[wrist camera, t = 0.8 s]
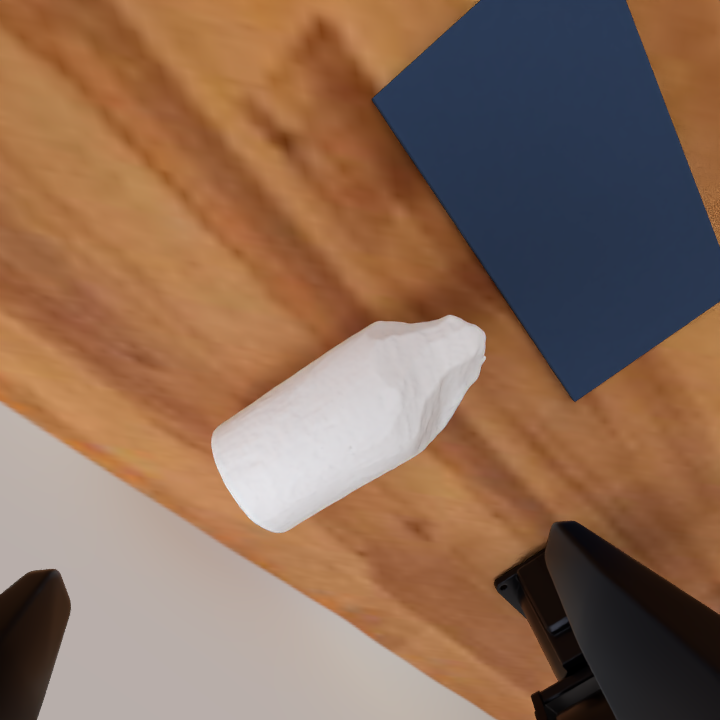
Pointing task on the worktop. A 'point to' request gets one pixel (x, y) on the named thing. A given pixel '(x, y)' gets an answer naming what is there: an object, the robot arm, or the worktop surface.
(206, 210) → the worktop surface
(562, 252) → the cloth
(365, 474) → the white tapered cylinder
